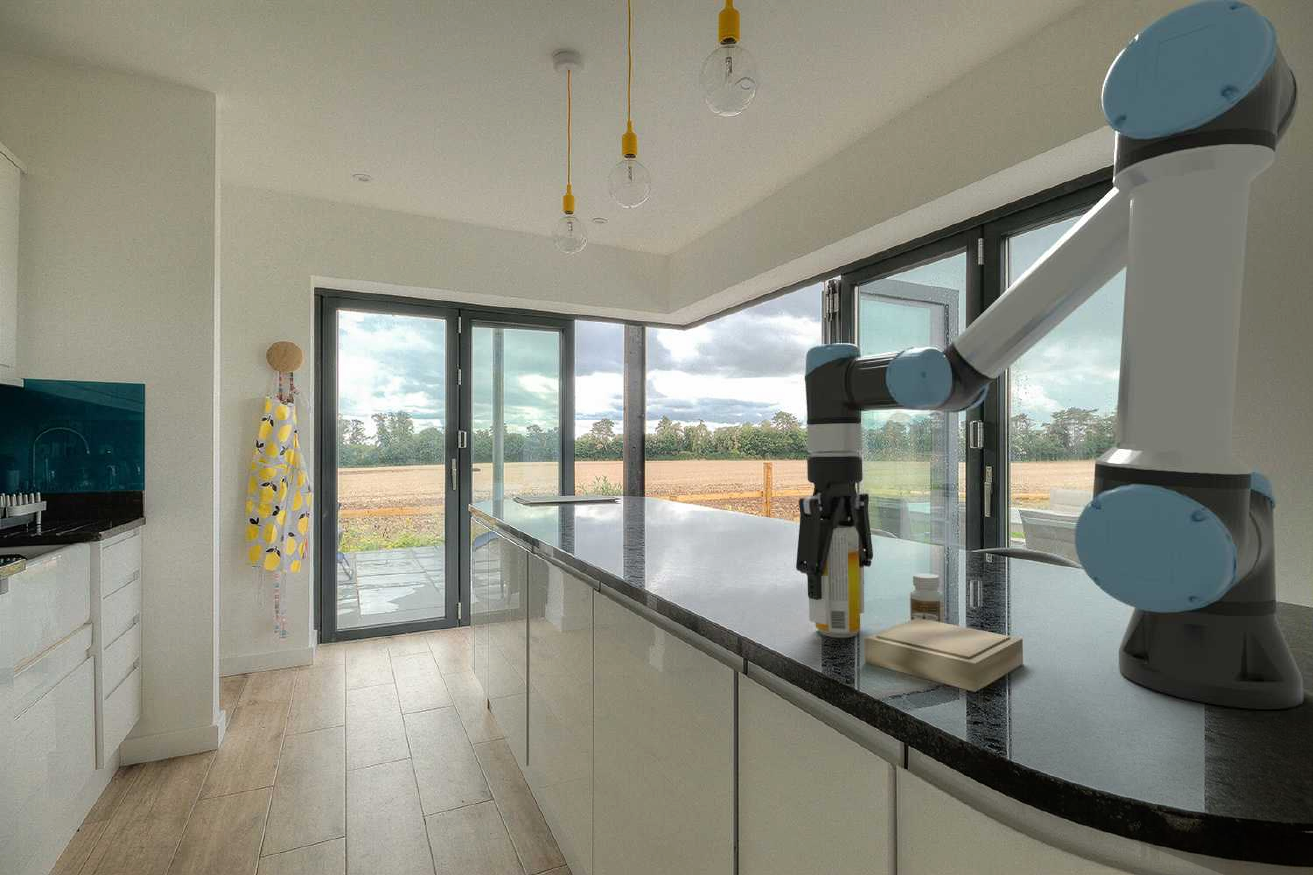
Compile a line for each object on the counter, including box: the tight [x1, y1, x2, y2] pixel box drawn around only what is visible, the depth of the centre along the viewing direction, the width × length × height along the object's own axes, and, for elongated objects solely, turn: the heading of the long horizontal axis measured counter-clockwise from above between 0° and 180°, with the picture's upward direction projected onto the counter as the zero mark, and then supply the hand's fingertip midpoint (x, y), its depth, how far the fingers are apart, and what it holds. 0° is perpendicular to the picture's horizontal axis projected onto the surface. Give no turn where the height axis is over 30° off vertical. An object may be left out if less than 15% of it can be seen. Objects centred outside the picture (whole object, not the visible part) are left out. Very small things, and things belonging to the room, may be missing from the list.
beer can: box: [814, 525, 861, 639], centre depth 91 cm, size 6×6×15 cm
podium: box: [864, 618, 1024, 693], centre depth 78 cm, size 13×13×3 cm
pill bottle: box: [909, 572, 945, 623], centre depth 91 cm, size 4×4×8 cm
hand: (837, 616), depth 91 cm, fingers open, 8 cm apart
